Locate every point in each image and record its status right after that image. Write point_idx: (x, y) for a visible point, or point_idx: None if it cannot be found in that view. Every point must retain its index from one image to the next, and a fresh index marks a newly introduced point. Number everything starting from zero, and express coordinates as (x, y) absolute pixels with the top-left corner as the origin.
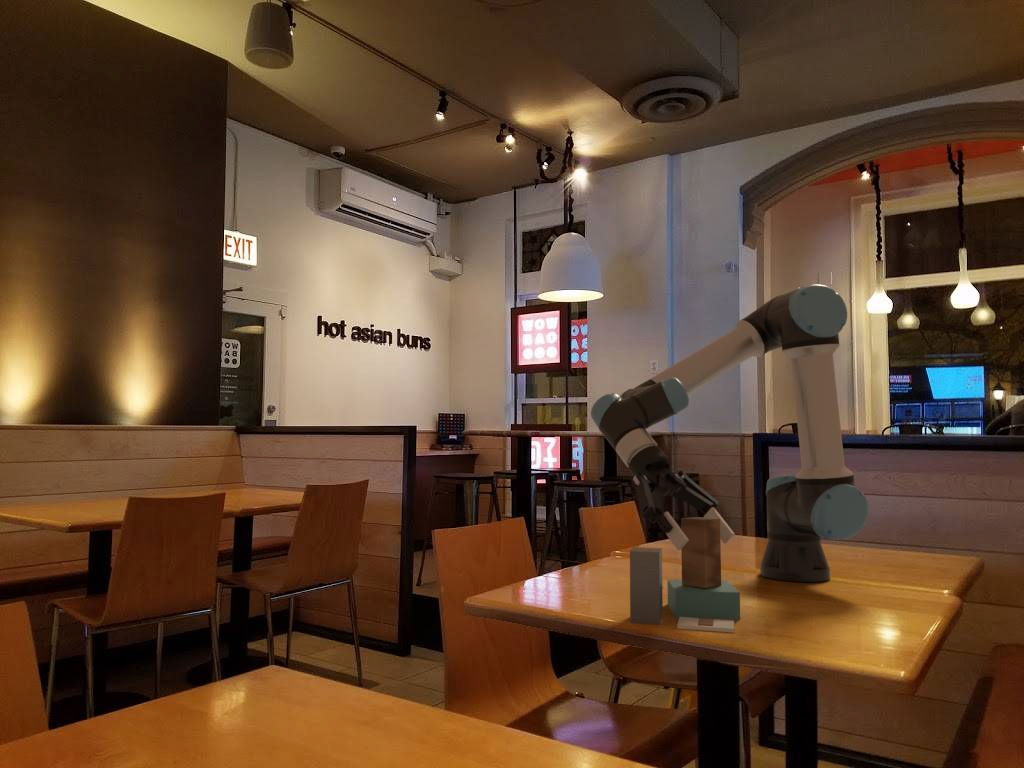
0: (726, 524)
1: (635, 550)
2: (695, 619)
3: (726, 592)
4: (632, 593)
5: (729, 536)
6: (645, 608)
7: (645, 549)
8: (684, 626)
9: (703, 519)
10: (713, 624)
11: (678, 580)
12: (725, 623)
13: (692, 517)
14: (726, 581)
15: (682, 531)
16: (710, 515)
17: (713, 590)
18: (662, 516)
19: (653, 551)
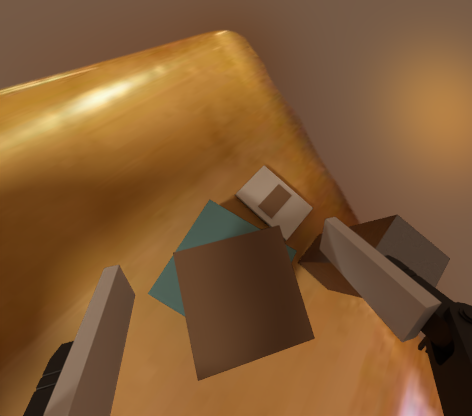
0: (96, 303)
1: (435, 262)
2: (276, 219)
3: (227, 210)
4: None
5: (123, 277)
6: None
7: (408, 266)
8: (306, 202)
9: (265, 245)
10: (272, 190)
11: None
12: (255, 187)
13: (239, 360)
14: (155, 285)
15: (346, 236)
16: (92, 405)
17: (236, 229)
18: (435, 296)
19: (402, 232)
